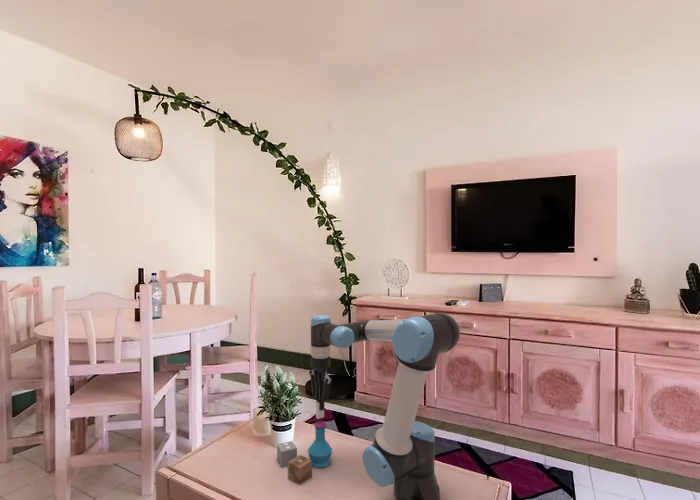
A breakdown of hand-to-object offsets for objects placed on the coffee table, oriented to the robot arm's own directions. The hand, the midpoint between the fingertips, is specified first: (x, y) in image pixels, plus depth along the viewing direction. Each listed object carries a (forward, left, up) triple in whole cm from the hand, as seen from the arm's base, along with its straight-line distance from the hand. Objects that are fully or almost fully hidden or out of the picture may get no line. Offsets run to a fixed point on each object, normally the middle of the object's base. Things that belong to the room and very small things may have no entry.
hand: (320, 417), depth 145 cm
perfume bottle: (0, 0, -17) cm, 17 cm away
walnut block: (-4, +11, -17) cm, 21 cm away
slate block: (+8, +10, -17) cm, 22 cm away
